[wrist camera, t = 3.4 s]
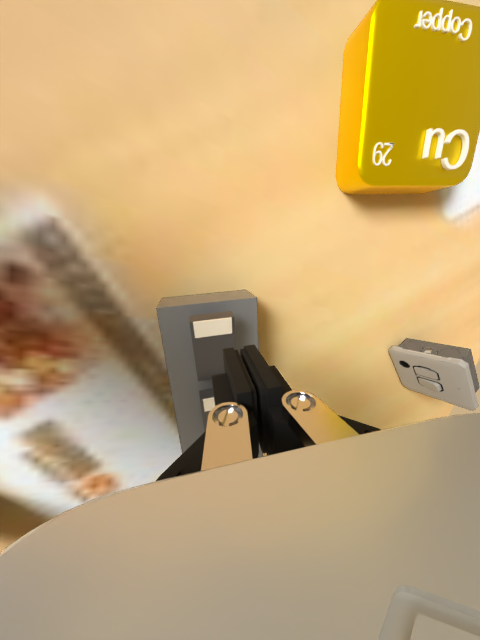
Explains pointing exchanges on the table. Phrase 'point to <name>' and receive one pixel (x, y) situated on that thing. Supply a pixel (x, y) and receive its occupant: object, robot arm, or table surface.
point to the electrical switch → (437, 371)
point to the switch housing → (181, 351)
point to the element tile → (409, 98)
